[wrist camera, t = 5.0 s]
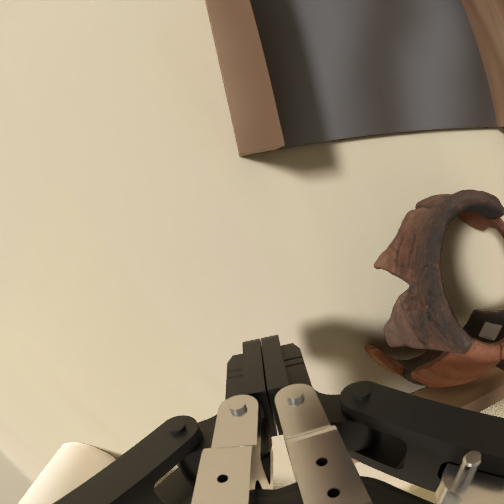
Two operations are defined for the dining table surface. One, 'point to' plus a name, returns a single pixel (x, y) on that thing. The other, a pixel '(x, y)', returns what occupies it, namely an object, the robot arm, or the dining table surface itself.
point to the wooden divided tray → (363, 84)
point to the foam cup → (66, 472)
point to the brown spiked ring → (439, 297)
